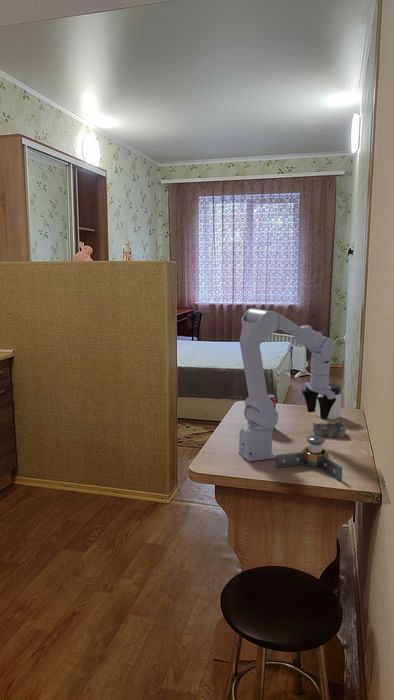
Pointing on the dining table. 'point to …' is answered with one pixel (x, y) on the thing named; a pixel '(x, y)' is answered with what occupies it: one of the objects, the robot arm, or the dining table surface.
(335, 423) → the egg carton
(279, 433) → the dining table surface
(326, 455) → the hinge
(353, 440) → the dining table surface
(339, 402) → the jar
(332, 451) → the dining table surface
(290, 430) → the dining table surface
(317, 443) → the pin
